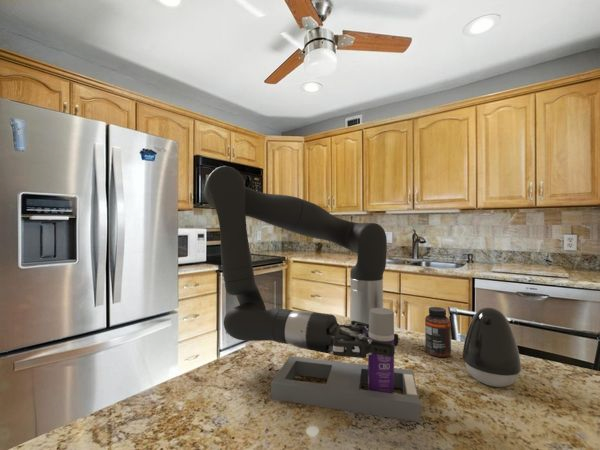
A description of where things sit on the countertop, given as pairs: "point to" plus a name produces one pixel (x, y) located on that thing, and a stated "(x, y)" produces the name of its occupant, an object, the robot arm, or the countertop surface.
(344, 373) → the socket board
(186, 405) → the countertop surface
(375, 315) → the container
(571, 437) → the countertop surface
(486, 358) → the pump dispenser
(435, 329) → the supplement bottle
